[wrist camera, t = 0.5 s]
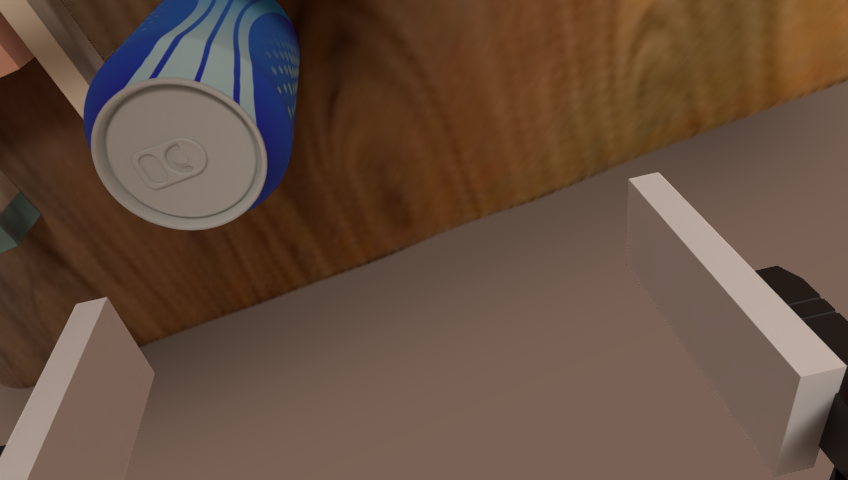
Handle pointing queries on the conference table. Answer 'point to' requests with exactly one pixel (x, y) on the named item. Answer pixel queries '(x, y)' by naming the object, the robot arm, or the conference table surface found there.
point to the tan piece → (68, 67)
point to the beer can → (196, 111)
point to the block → (11, 49)
